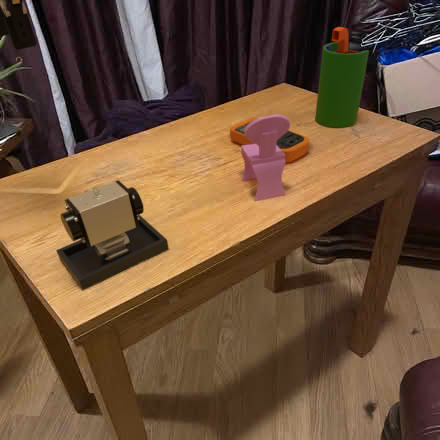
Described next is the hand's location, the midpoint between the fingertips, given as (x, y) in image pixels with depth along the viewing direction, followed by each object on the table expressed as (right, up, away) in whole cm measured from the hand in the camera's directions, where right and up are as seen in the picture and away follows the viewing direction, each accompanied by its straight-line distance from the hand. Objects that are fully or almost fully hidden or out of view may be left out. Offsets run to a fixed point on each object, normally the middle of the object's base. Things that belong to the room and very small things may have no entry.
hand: (15, 40), depth 64 cm
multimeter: (+42, -5, +32) cm, 53 cm away
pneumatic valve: (+13, -31, +7) cm, 35 cm away
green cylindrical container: (+59, +4, +40) cm, 71 cm away
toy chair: (+39, -17, +20) cm, 47 cm away
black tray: (+13, -31, +7) cm, 35 cm away
